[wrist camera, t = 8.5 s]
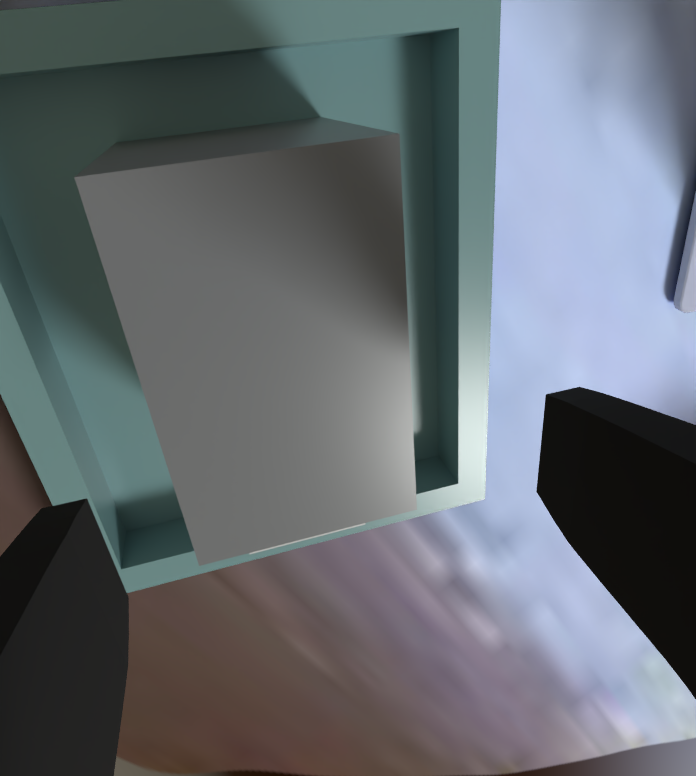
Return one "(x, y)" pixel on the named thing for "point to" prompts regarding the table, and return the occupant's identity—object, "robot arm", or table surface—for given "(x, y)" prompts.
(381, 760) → the table surface
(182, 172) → the grey block
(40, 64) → the tray
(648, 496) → the robot arm
